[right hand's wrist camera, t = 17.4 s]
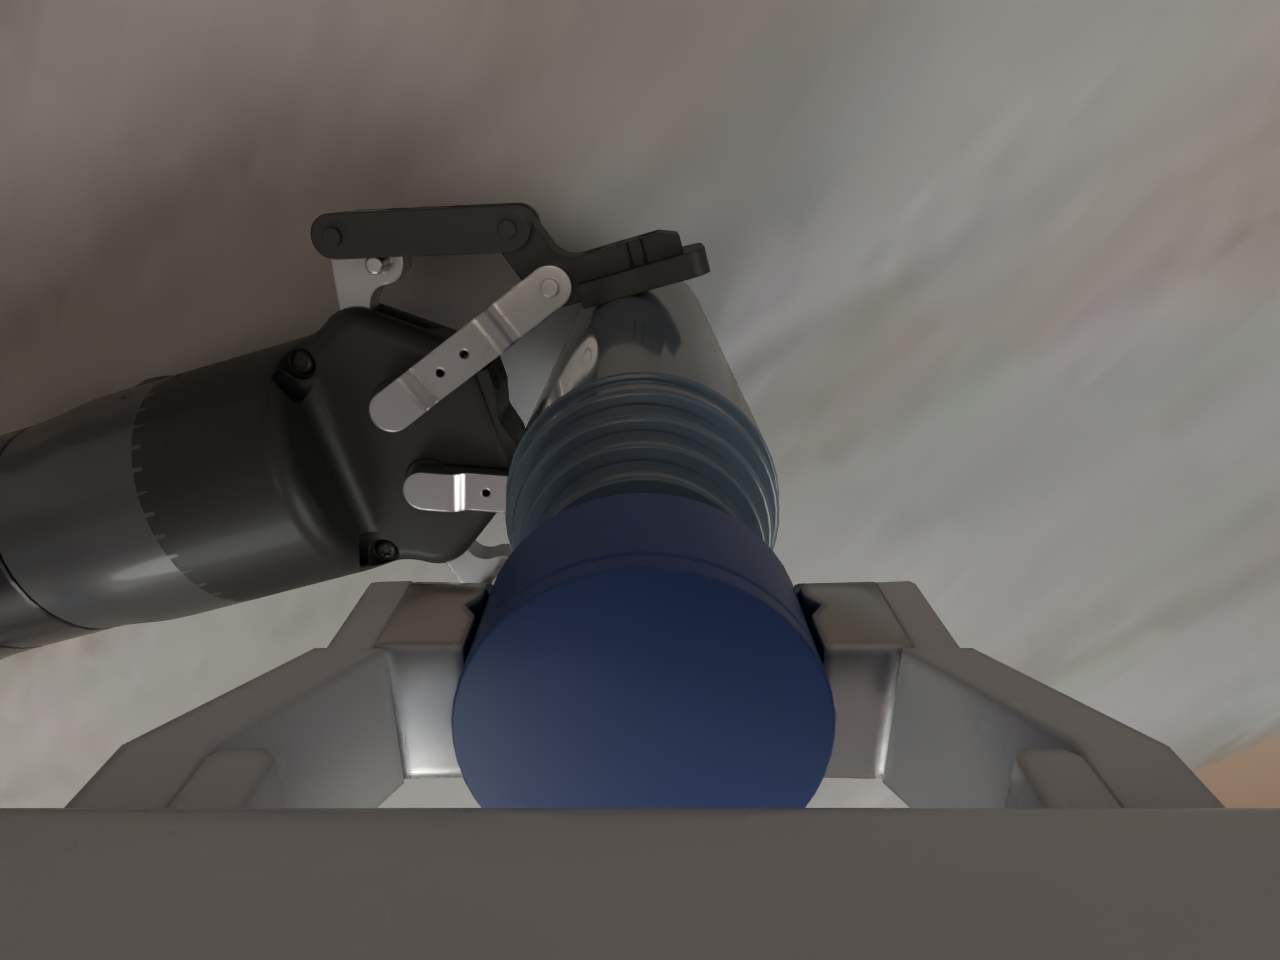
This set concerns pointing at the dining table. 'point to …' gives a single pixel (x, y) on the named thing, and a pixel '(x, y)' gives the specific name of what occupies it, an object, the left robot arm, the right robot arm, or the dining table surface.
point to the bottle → (642, 419)
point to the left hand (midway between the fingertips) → (724, 349)
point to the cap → (643, 668)
